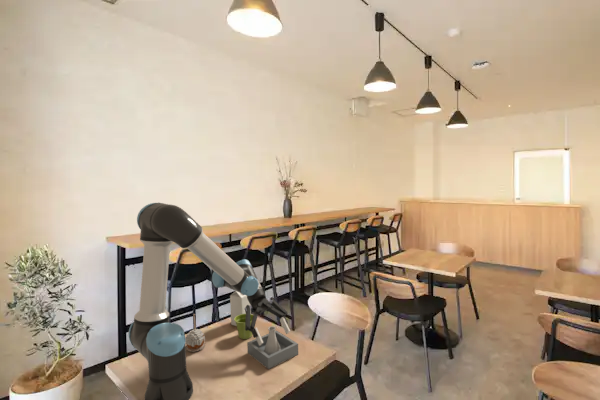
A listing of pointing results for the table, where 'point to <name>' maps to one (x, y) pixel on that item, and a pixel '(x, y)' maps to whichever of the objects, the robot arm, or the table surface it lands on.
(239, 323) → the plant pot
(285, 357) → the open box
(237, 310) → the milk carton
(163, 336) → the robot arm
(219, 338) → the table surface
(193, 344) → the decorative ornament
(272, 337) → the flask
